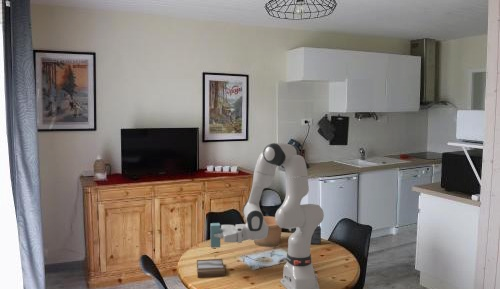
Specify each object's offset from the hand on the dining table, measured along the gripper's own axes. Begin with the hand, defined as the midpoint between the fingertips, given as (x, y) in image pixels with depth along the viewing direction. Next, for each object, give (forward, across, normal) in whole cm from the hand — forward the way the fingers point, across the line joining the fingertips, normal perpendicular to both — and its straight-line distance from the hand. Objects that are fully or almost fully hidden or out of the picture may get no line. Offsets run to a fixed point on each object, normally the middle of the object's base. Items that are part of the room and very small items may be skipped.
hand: (213, 233), depth 219 cm
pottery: (-36, -36, +19) cm, 55 cm away
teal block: (-1, 0, +7) cm, 7 cm away
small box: (-65, -32, +19) cm, 75 cm away
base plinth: (+2, +4, +19) cm, 19 cm away
